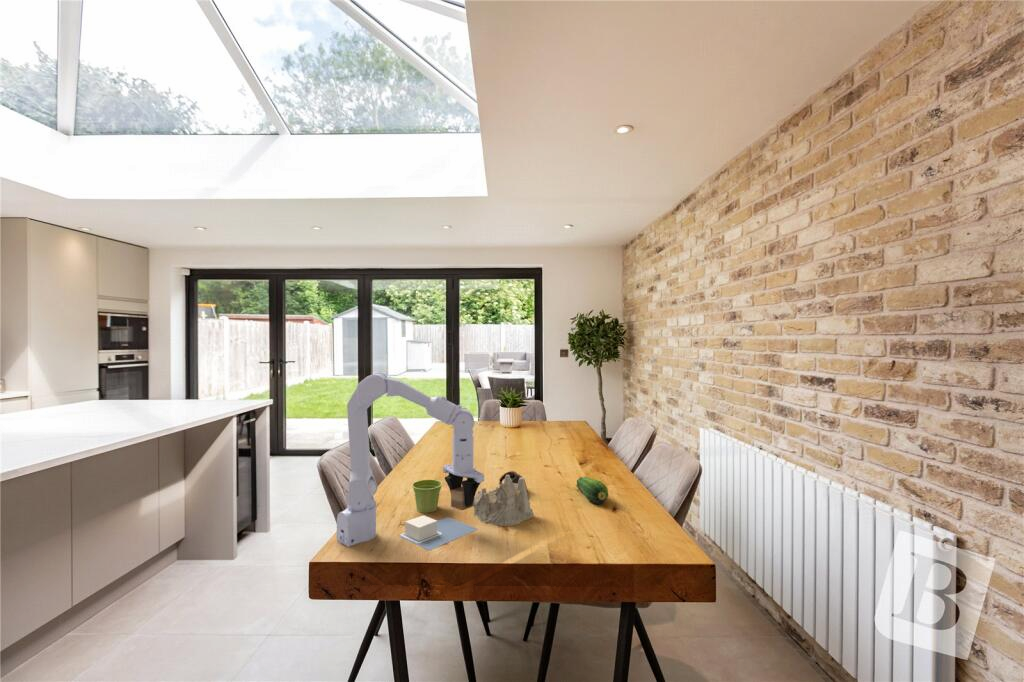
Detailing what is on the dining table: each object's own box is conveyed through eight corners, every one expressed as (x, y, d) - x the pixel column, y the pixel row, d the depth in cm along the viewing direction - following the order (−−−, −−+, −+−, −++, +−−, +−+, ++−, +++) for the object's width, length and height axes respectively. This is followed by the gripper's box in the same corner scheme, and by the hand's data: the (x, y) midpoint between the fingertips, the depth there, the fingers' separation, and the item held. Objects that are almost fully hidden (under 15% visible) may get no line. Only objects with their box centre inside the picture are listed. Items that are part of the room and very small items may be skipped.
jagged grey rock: (542, 518, 130) (538, 467, 131) (500, 536, 119) (496, 480, 120) (507, 507, 142) (504, 461, 143) (466, 523, 131) (463, 472, 132)
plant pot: (447, 508, 139) (447, 480, 139) (434, 519, 130) (434, 489, 130) (420, 505, 142) (420, 478, 142) (406, 515, 132) (406, 487, 133)
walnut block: (462, 510, 116) (462, 493, 116) (451, 506, 119) (451, 489, 119) (474, 505, 120) (474, 489, 120) (463, 502, 123) (463, 486, 123)
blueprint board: (429, 554, 107) (429, 549, 107) (398, 539, 116) (398, 535, 116) (478, 532, 120) (478, 528, 120) (447, 520, 129) (447, 516, 129)
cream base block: (419, 541, 113) (419, 527, 113) (405, 534, 116) (405, 521, 117) (437, 533, 117) (437, 520, 117) (423, 527, 121) (423, 515, 121)
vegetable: (596, 480, 140) (576, 465, 160) (586, 501, 139) (567, 483, 159) (615, 490, 141) (593, 473, 161) (605, 510, 140) (585, 491, 160)
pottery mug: (531, 497, 151) (521, 478, 149) (506, 509, 151) (496, 490, 149) (526, 478, 163) (516, 460, 161) (503, 489, 163) (493, 472, 161)
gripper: (492, 455, 118) (491, 505, 118) (456, 447, 127) (455, 494, 127) (473, 460, 113) (473, 513, 112) (437, 451, 122) (436, 500, 122)
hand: (462, 503), depth 119 cm, fingers closed on walnut block, 4 cm apart
